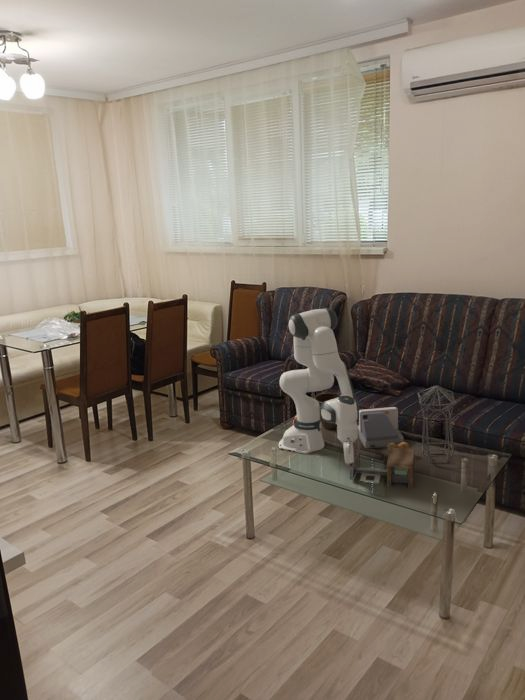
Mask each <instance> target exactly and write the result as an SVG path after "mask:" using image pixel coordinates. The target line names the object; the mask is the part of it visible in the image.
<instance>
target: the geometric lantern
mask: <svg viewBox="0 0 525 700" xmlns="http://www.w3.org/2000/svg"><path fill="white" fill-rule="evenodd" d="M450 393H451V394H450ZM416 394H417V396H418V401H419V402H418V403H419V406H420V408H421V412H422V436H421V437H422V438H421V439H422V441H421V449H422V455H423V456H425V457H426V458H428V461H429V463H432V464H437V463H438V464H442V463H443V464H449V462H450V458H451V457H453V456H454V455H455V452H454V451H455V449H454V439H453V428H452V425H453V424H452V413H453V408H454V407H455V405H456V404H458V401H456V400H455V397H454V392H453V391H452V390H449V389H446V388H444V387H442V386H439V385H437V384H436V385H433V386H430V387H429V388H426V389H423V390H421V391H420V392H419V391H418V392H417V393H416ZM420 394H421V395H420ZM431 396H432V397H431ZM436 396H437V398H436ZM444 397H445V398H446V399H447V400H448V401H450V403H443V401H442V398H444ZM428 399H431V400H430V402H429V403H426V402H427V401H428ZM435 401H438V403H439V404H435ZM423 402H424V403H423ZM430 406H432V408H431V407H430ZM436 406H437V407H438V406H439V408H435V407H436ZM442 406H443V408H441V407H442ZM429 411H432V412H431V413H430V415H429ZM444 411H445V412H444ZM434 412H441V413H442V414H443V416H444V417H445V418H430V417H431V416H432V415H433V414H434ZM425 413H426V414H425ZM429 420H432V421H433V420H437V421H438V420H440V421H441V420H442V421H443V420H445V442H429ZM425 445H426V447H425ZM430 445H444V448H443V449H436V450H435V449H434V450H433V449H432V450H431V449H430V448H429V447H430ZM446 446H447V447H448V448H446ZM425 451H426V454H425ZM440 451H442V454H445V455H434V454H435V453H430V452H440ZM447 451H448V453H447ZM451 452H452V453H451ZM446 455H447V456H446ZM433 460H446V461H433Z"/></svg>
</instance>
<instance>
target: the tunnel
mask: <svg viewBox="0 0 525 700" xmlns="http://www.w3.org/2000/svg"><path fill="white" fill-rule="evenodd" d="M387 457H388V458H387V462H386V470H387V475H386V486H387V485H389V486H388V487H392V482H391V469H392V467H403V468H408V483H407V485H408V489H412V488H413V474H415V449H414V448H413V449H412V448H409V449H402V448H390V452H388V456H387Z"/></svg>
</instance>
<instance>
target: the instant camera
mask: <svg viewBox="0 0 525 700" xmlns="http://www.w3.org/2000/svg"><path fill="white" fill-rule="evenodd" d="M357 425H358V439H359V440H360V442H361V443H362V445H363V447H364V448H365V449H375V448H385V447H387V445H388V444H389V443H395V444H397V445H398V444H400V443H402V442H404V436H403V435H402V433H401V431H400V430H399V409H398V407H396V406H391V407H389V406H388V407H378V408H367V409H366V408H365V409H358V424H357Z"/></svg>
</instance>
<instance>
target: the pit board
mask: <svg viewBox="0 0 525 700" xmlns="http://www.w3.org/2000/svg"><path fill="white" fill-rule="evenodd" d="M370 468H371V467H370ZM371 469H375V468H373V467H372V468H371ZM381 476H382V475H378V474H367V473H361V475H360V479H359V482H360V481H368V482H377V483H376V484H378V483H379V484H380V482H379V481H381V478H382V477H381Z"/></svg>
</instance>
